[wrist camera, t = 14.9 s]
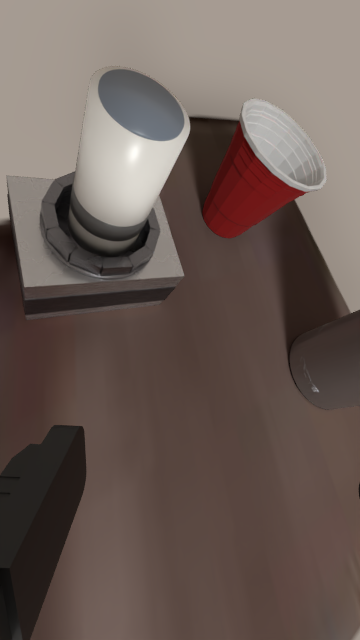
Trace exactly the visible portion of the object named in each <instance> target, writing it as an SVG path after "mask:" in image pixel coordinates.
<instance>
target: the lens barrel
mask: <svg viewBox="0 0 360 640" xmlns="http://www.w3.org/2000/svg"><path fill="white" fill-rule="evenodd" d="M189 132H190V121H189V118H188V115H187V113H186V111H185V109H184V107H183V105H182V104H181V103H180V101H179V100H178V99H177V98H176V96H174V94H173V93H172V92H170V91H169V90H168V89H167V88H166V87H165V86H164V85H162V84H161V83H159V82H158V81H156V80H155V79H153V78H152V77H150V76H148V75H146V74H144V73H142V72H139V71H137V70H134V69H130V68H126V67H120V66H119V67H118V66H110V67H105V68H102V69H99V70H98V71H96V72H95V73H94V74H93V75H92V77H91V79H90V83H89V88H88V95H87V101H86V107H85V114H84V121H83V126H82V133H81V139H80V146H79V152H78V158H77V164H76V171H75V176H74V179H73V184H72V191H71V197H70V209H69V215H68V229H69V232H70V234H71V236H72V238H73V239H74V241H75V242H76V243H77V244H78V245H79V246H80V247H81V248H83V249H84V250H86V251H88V252H91V253H93V254H95V255H98V256H100V257H106V258H111V257H118V256H121V255H124V254H125V253H127V252H128V251H129V250H130V249H131V248H132V247H133V245H134V243H135V241H136V239H137V237H138V235H139V233H140V232H141V231H142V229H143V227H144V225H145V223H146V221H147V219H148V217H149V215H150V213H151V210H152V207H153V206H154V204H155V202H156V200H157V198H158V196H159V194H160V192H161V190H162V188H163V186H164V184H165V182H166V180H167V178H168V176H169V174H170V172H171V170H172V168H173V166H174V164H175V162H176V160H177V158H178V156H179V154H180V152H181V150H182V148H183V146H184V144H185V142H186V140H187V138H188V135H189Z"/></svg>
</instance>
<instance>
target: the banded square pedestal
mask: <svg viewBox="0 0 360 640" xmlns="http://www.w3.org/2000/svg"><path fill="white" fill-rule="evenodd" d="M74 176H75V172H72V173H70V174H67V175H65V176H62V177H60V178H57V179H55V180H53V179H42V178H29V177H18V176H7V187H8V204H9V215H10V222H11V228H12V235H13V241H14V247H15V254H16V260H17V267H18V273H19V279H20V286H21V292H22V298H23V305H24V311H25V317H26V320H30V319H39V318H48V317H56V316H65V315H74V314H82V313H91V312H100V311H108V310H117V309H126V308H134V307H143V306H152V305H159V304H160V303H161V302H162V301H163V300H165V299H166V298H167V296H168V295H169V294H170V293H171V292H172V291H173V290H174V289H175V286H176V285H177V284H178V283H179V282H180V281H181V279H182V278H183V277H184V273H183V270H182V267H181V264H180V261H179V257H178V254H177V251H176V248H175V245H174V241H173V238H172V235H171V232H170V229H169V225H168V222H167V219H166V216H165V213H164V209H163V206H162V203H161V200H160V197H159V196H158V198H157V200H156V202H155V204H154V206H153V207H152V210H151V213H150V215H149V217H148V219H147V221H146V223H145V225H144V227H143V229H142V231H141V232H140V233H139V235H138V237H137V239H136V241H135V243H134V245H133V247H132V248H131V249H130V250H129V251H128V252H127V253H125V254H124V255H121V256H118V257H111V258H106V257H100V256H98V255H95V254H93V253H91V252H88V251H86V250H84V249H83V248H81V247H80V246H79V245H78V244H77V243H76V242H75V241H74V239H73V238H72V236H71V234H70V232H69V229H68V215H69V209H70V197H71V191H72V184H73V179H74Z"/></svg>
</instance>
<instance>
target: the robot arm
mask: <svg viewBox="0 0 360 640" xmlns="http://www.w3.org/2000/svg"><path fill="white" fill-rule="evenodd" d="M290 367H291V372H292V375H293V378H294V380H295V382H296V385H297V386H298V388H299V390H300V391H301V393H302V394H303V395H304V396H305V397H306V398H307V399H308V400H309V401H310V402H311V403H313V404H314V405H316V406H318V407H320V408H323V409H327V410H329V409H338V408H346V407H354V406H360V310H358V311H356V312H353V313H351V314H348V315H346V316H344V317H341V318H339V319H337V320H334V321H332V322H329V323H327V324H324V325H322V326H320V327H317V328H315V329H313V330H310V331H308V332H306V333H303V334H302V335H300V336H298V337H297V338H296V339H295V341H294V342H293V344H292V347H291V351H290ZM85 481H86V455H85V437H84V429H83V427H82V426H67V425H54V426H53V427H52V428H51V429H50V431H49V432H48V434H47V436H46V437H45V439H44V440H43V442H42V444H30V445H28V446H27V447H26V448H25V449H23V450H22V451H21V452H19V453H18V454H17V455H16V456H14V457H13V458H12V459H11V460H10V462H9V463H8V465H7V466H6V468H5V469H4V470H3V472H2V473H1V475H0V640H30V638H31V635H32V632H33V630H34V627H35V624H36V621H37V619H38V616H39V613H40V610H41V608H42V605H43V602H44V599H45V597H46V594H47V591H48V588H49V586H50V583H51V580H52V577H53V574H54V572H55V569H56V566H57V563H58V561H59V558H60V555H61V552H62V550H63V547H64V544H65V541H66V539H67V536H68V533H69V530H70V528H71V525H72V522H73V519H74V516H75V514H76V511H77V508H78V505H79V503H80V500H81V497H82V494H83V491H84V486H85ZM359 497H360V484H359Z"/></svg>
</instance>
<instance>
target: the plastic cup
mask: <svg viewBox="0 0 360 640" xmlns="http://www.w3.org/2000/svg"><path fill="white" fill-rule="evenodd" d="M239 120H240V121H239V123H238V125H237V128H236V131H235V133H234V135H233V137H232V141H231V144H230V146H229V148H228V150H227V152H226V154H225V157H224V159H223V161H222V163H221V165H220V168H219V170H218V172H217V174H216V176H215V179H214V181H213V183H212V187H211V189H210V192H209V194H208V196H207V198H206V200H205V203H204V207H203V211H202V213H203V218H204V221H205V222H206V224H207V226H208V227H209V228H210V229H211V230H212V231H213V232H214V233H215V234H217V235H219V236H221V237H224V238H233V237H236V236H238V235H240V234H242V233H243V232H245V231H246V230H247V229H249V228H250V227H252V226H253V225H256V224H257V223H259V222H260V221H262V220H263V219H265V218H266V217H268V216H269V215H271V214H272V213H274V212H275V211H277V210H278V209H280V208H281V207H283V206H284V205H285V204H287V203H288V202H290V201H293V200H294V199H296V198H297V197H299V196H302V195H304V194H305V193H307V192H310V191H317V190H319V189H320V188H322V186H323V185H324V184H325V182H326V167H325V165H324V162H323V160H322V157H321V155H320V152H319V151H318V149H317V148H316V146H315V144H314V143H313V141H312V140H311V138H310V137H309V136H308V134H307V133H306V132H305V131H304V130H303V129H302V128H301V126H299V124H298V123H297V122H296V121H295V120H294V119H292V118H291V117H290V116H289V115H288V114H287V113H285V112H284V111H283V110H282V109H280V108H279V107H277V106H275V105H273V104H271V103H269V102H268V101H266V100H260V99H255V98H252V99H250V100H248V101H246V102H244V104H243V107H242V110H241V114H240V119H239Z"/></svg>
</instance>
